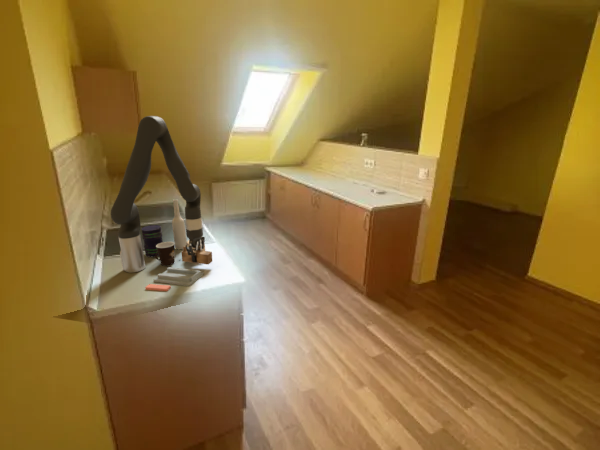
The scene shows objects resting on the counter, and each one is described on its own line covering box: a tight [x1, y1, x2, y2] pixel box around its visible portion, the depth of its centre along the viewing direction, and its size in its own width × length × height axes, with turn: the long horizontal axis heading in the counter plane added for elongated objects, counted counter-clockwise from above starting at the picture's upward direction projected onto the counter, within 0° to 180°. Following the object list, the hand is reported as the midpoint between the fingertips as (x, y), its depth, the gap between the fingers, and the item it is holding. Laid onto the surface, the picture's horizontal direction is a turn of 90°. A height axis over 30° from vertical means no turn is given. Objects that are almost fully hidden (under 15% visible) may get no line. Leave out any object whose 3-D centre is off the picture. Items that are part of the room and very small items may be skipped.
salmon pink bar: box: [144, 283, 172, 292], centre depth 141 cm, size 10×3×2 cm, turn 81°
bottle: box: [171, 198, 188, 250], centre depth 183 cm, size 7×7×28 cm
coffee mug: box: [154, 241, 176, 267], centre depth 164 cm, size 12×9×10 cm
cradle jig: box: [153, 266, 205, 287], centre depth 150 cm, size 18×12×3 cm, turn 76°
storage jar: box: [140, 224, 164, 258], centre depth 176 cm, size 10×10×15 cm
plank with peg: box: [180, 246, 213, 265], centre depth 159 cm, size 14×4×7 cm, turn 76°
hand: (197, 260), depth 160 cm, fingers closed on plank with peg, 4 cm apart
